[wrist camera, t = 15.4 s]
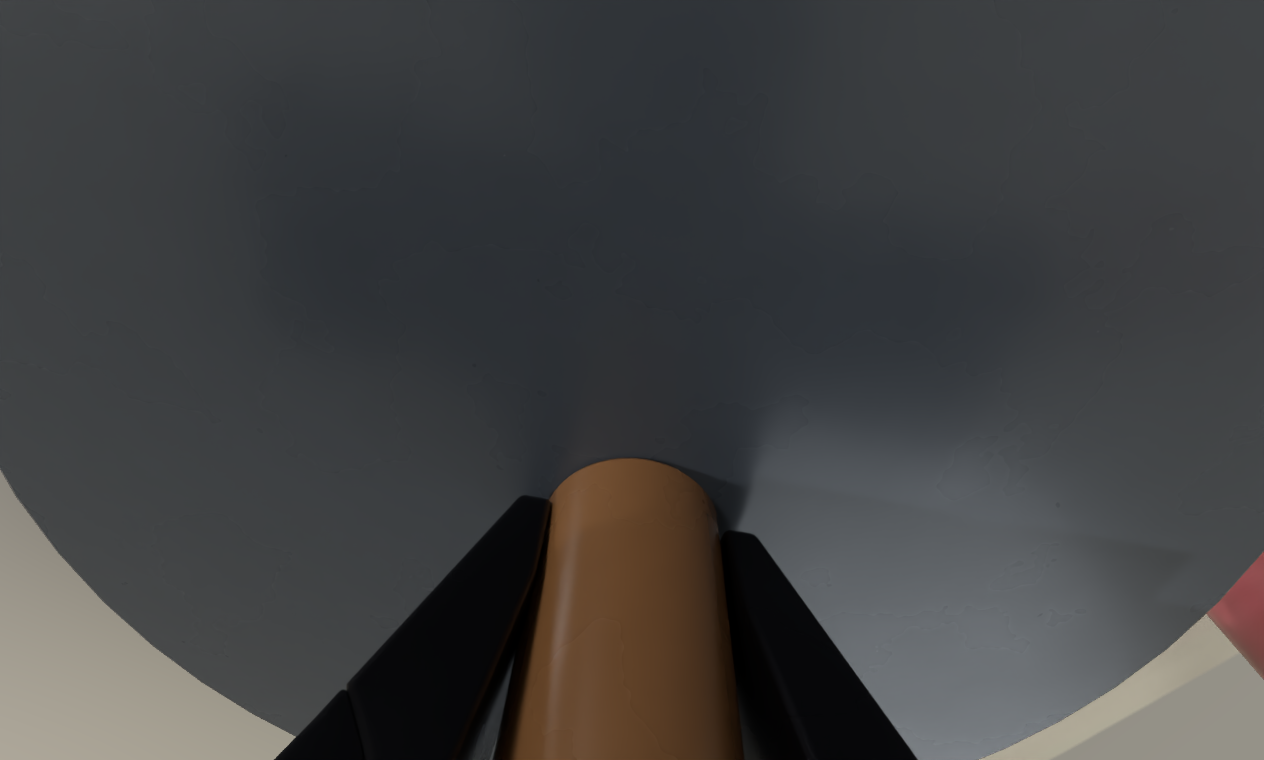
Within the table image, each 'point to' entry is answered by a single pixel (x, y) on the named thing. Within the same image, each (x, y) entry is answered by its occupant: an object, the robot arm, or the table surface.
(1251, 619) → the doll
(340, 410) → the lid
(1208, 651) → the table surface
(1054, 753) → the table surface
